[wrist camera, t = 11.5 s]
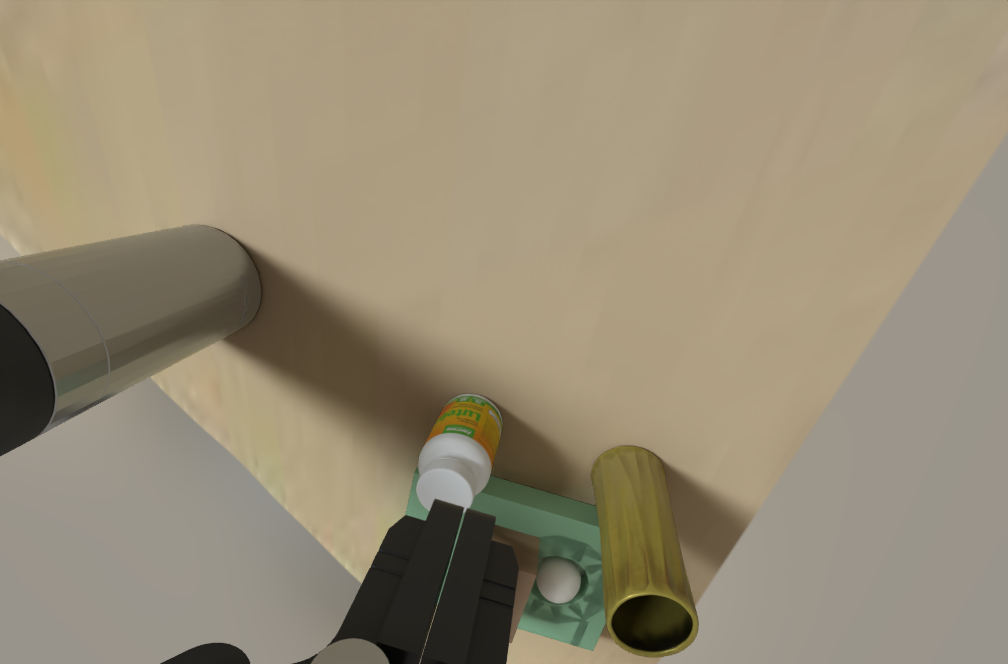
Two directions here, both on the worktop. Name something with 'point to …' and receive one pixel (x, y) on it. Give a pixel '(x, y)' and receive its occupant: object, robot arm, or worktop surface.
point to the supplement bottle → (459, 451)
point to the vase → (641, 556)
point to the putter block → (520, 567)
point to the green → (547, 554)
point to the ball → (558, 579)
